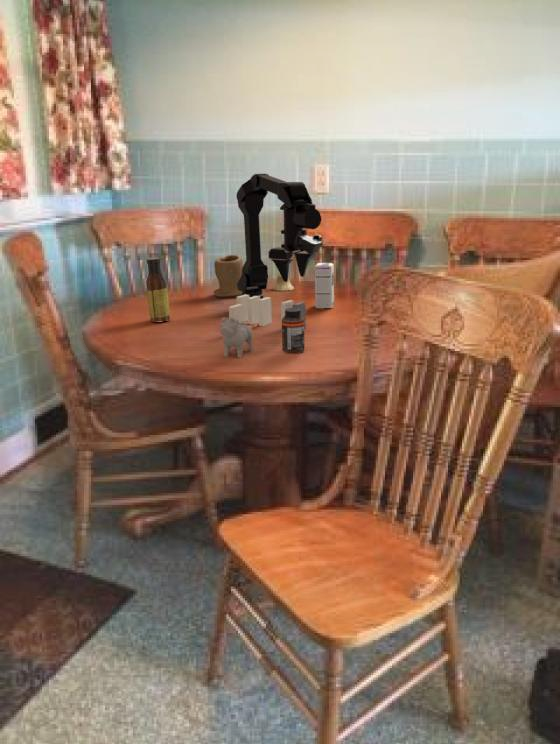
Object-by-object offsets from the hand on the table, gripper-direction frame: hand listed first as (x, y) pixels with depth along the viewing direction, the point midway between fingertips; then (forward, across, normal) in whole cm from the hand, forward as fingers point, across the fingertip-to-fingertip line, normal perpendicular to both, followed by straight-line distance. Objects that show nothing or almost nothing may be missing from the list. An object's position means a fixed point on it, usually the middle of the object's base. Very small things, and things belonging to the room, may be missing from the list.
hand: (294, 279), depth 199 cm
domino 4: (+14, -6, +7) cm, 16 cm away
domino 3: (+14, -6, +11) cm, 18 cm away
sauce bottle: (+14, -19, +39) cm, 45 cm away
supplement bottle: (+14, -26, -16) cm, 33 cm away
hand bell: (+14, +43, +32) cm, 56 cm away
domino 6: (+14, -6, -6) cm, 16 cm away
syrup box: (+14, +24, +3) cm, 28 cm away
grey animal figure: (+14, -35, -5) cm, 38 cm away
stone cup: (+14, +23, +41) cm, 49 cm away
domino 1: (+14, -18, +9) cm, 24 cm away
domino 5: (+14, -6, -2) cm, 15 cm away
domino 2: (+14, -6, +15) cm, 21 cm away
